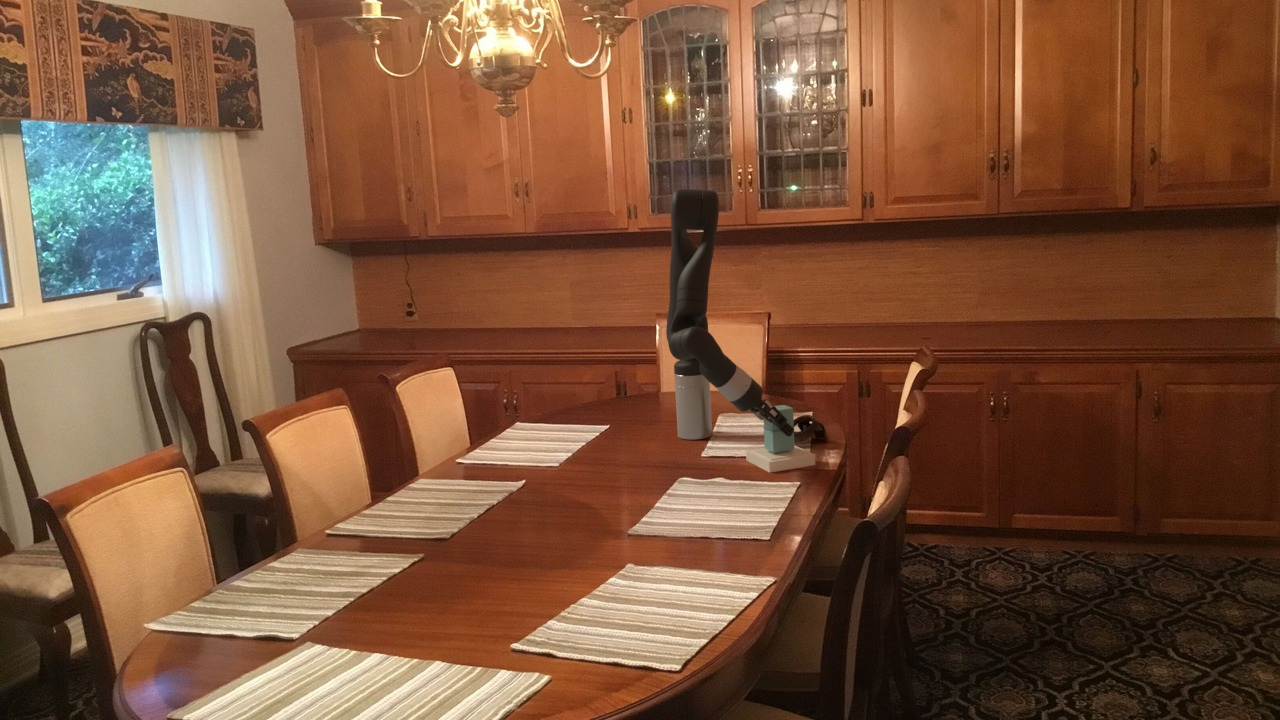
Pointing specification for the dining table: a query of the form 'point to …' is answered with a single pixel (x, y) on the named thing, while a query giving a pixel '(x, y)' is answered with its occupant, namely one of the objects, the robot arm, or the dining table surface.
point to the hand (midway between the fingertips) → (786, 430)
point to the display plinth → (780, 459)
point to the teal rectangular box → (779, 432)
